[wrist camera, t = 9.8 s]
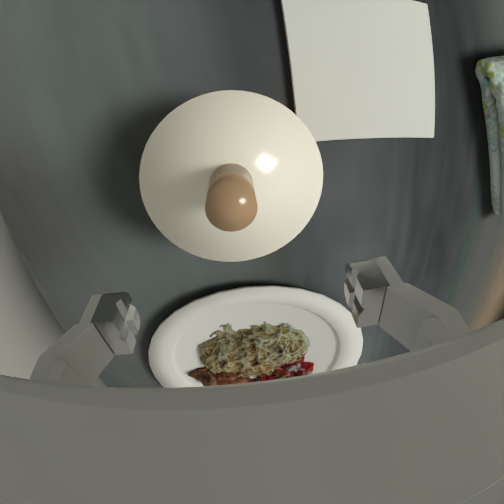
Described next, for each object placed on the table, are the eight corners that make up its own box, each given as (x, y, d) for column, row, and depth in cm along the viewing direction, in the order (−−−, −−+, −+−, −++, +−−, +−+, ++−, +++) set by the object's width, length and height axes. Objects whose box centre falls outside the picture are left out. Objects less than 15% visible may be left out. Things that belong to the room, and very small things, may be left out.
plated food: (161, 250, 30) (155, 270, 27) (397, 298, 37) (407, 315, 34) (146, 392, 45) (144, 409, 43) (306, 409, 52) (309, 424, 49)
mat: (423, 4, 17) (427, 4, 16) (430, 136, 24) (433, 137, 24) (278, -11, 17) (279, -13, 16) (297, 141, 25) (299, 142, 24)
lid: (313, 80, 17) (337, 83, 13) (321, 243, 25) (338, 279, 21) (123, 112, 18) (95, 125, 14) (167, 266, 25) (157, 305, 21)
